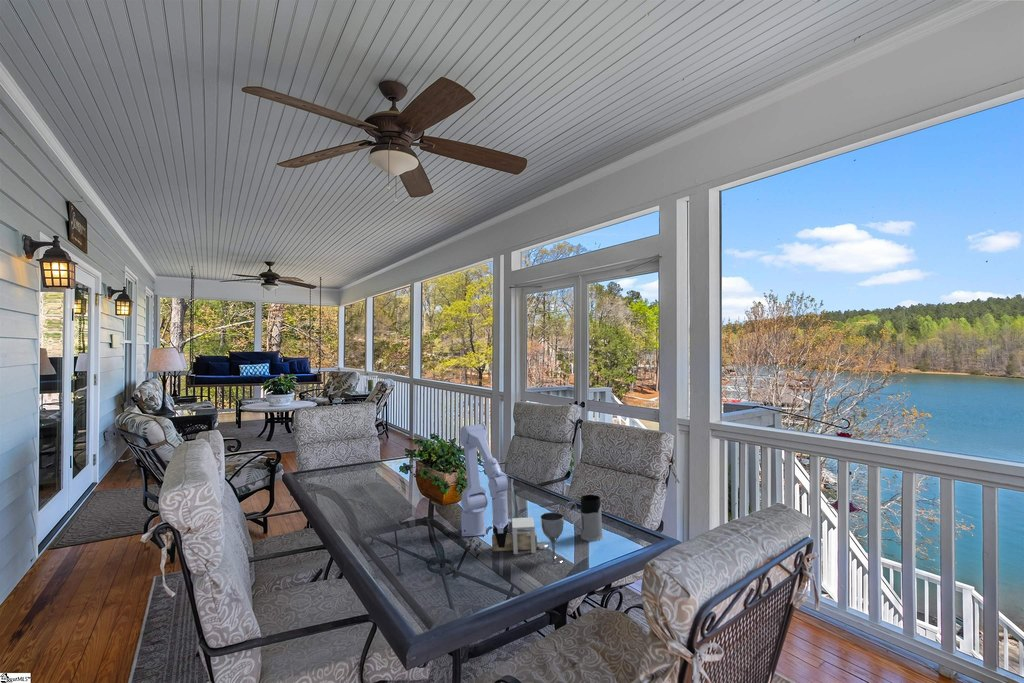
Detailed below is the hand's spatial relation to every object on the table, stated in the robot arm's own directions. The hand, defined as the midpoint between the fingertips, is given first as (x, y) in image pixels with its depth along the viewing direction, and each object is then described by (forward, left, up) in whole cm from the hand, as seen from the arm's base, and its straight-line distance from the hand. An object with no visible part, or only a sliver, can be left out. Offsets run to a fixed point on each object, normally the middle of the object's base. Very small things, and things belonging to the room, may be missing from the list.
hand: (501, 545), depth 173 cm
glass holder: (+32, +8, -2) cm, 33 cm away
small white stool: (+8, 0, -1) cm, 8 cm away
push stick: (+5, 0, -1) cm, 5 cm away
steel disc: (+15, 0, -2) cm, 15 cm away
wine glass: (+18, -10, -2) cm, 21 cm away
